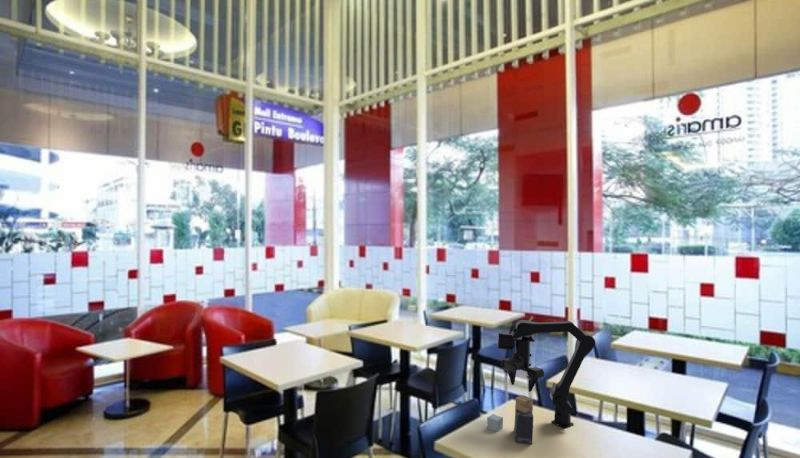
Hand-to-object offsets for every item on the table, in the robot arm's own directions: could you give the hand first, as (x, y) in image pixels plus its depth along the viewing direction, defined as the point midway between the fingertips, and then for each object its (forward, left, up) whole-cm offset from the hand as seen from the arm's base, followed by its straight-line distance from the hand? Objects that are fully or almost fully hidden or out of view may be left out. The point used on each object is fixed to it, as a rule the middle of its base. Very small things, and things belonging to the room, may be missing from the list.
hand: (521, 388), depth 186 cm
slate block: (+16, +1, -13) cm, 21 cm away
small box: (+12, +12, -13) cm, 22 cm away
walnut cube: (+12, +12, -3) cm, 17 cm away
